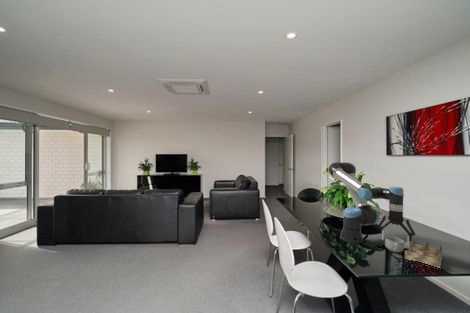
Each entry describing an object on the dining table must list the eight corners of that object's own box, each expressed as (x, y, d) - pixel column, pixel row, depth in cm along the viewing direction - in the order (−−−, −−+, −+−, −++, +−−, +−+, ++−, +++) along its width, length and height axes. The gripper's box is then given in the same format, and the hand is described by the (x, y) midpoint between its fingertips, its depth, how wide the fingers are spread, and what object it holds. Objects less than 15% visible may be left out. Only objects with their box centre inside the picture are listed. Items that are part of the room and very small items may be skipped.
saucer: (389, 244, 155) (389, 242, 155) (392, 240, 163) (392, 237, 163) (410, 250, 146) (410, 247, 146) (412, 245, 154) (413, 242, 154)
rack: (404, 258, 133) (405, 246, 133) (409, 249, 146) (409, 238, 146) (440, 269, 122) (440, 255, 121) (441, 258, 135) (442, 245, 135)
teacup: (385, 245, 152) (385, 234, 151) (404, 250, 145) (405, 238, 145) (383, 252, 141) (383, 240, 141) (404, 257, 134) (404, 245, 134)
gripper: (372, 207, 149) (372, 238, 149) (419, 215, 131) (419, 249, 131) (375, 206, 154) (374, 235, 154) (421, 213, 136) (420, 246, 136)
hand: (395, 242), depth 142 cm, fingers open, 13 cm apart
